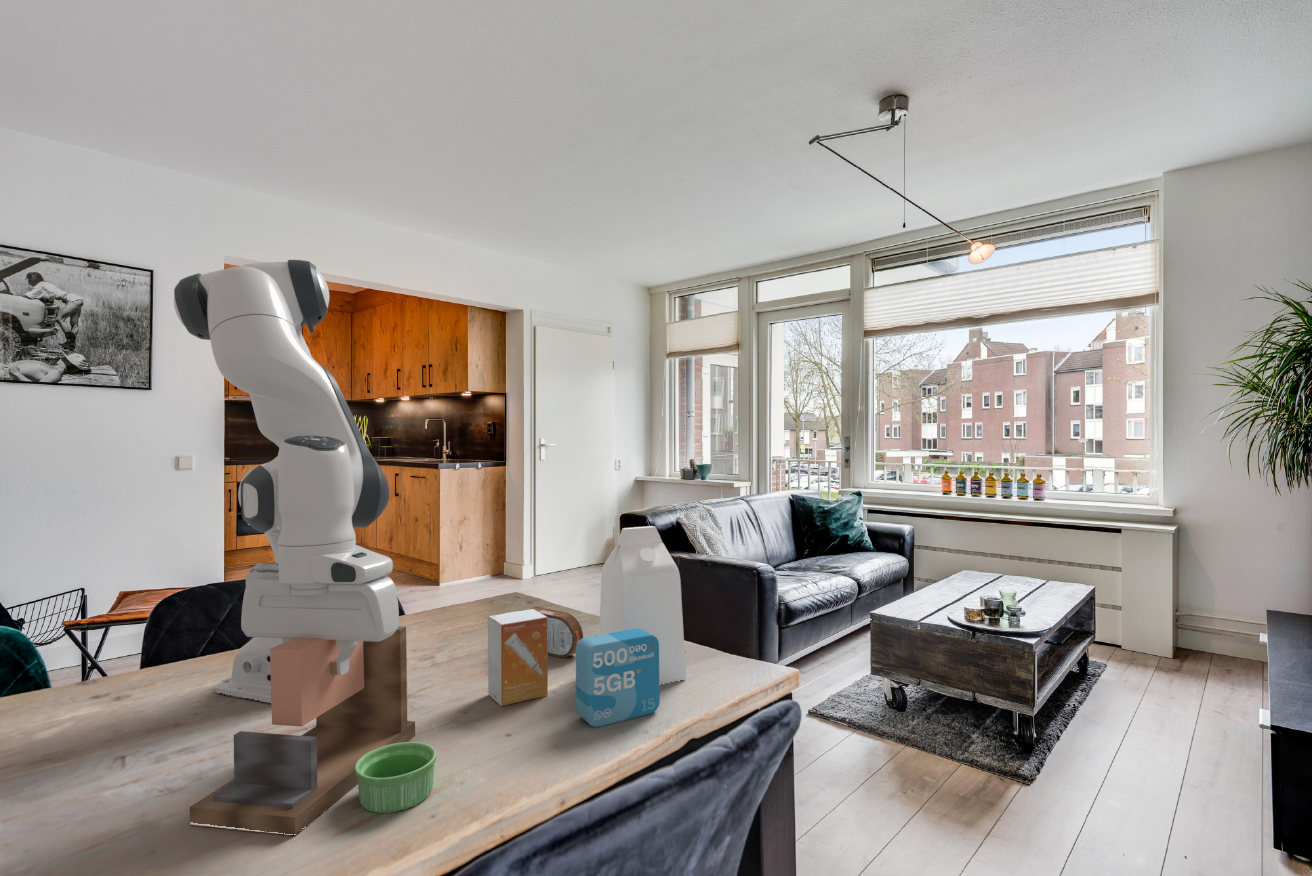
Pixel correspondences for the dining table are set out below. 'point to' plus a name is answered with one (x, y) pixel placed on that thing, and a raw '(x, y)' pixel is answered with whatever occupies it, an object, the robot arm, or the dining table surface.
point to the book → (310, 679)
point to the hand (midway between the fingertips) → (320, 672)
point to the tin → (561, 632)
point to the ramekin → (395, 776)
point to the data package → (617, 676)
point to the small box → (517, 656)
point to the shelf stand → (314, 752)
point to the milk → (645, 596)
